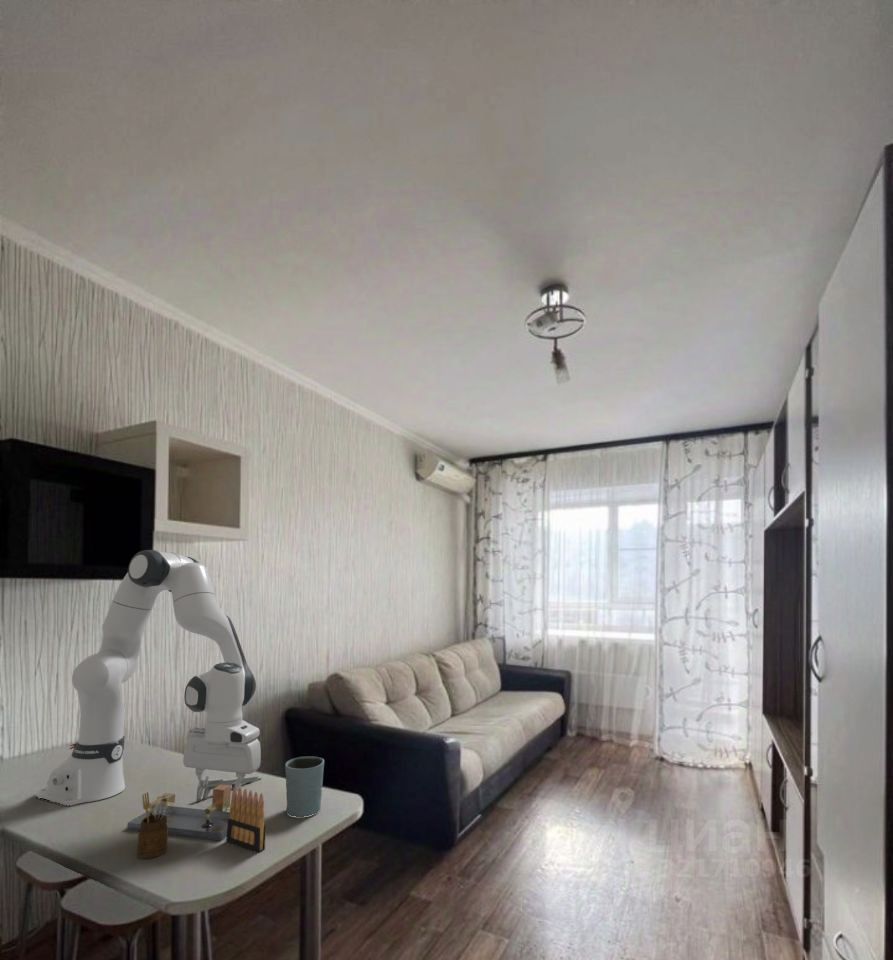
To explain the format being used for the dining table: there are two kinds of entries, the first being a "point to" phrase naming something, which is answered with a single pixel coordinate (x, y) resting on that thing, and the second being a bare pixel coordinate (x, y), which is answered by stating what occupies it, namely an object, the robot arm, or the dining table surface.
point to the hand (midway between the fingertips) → (219, 788)
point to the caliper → (217, 782)
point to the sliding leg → (219, 800)
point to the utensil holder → (152, 833)
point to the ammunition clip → (246, 821)
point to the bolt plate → (186, 819)
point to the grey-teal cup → (304, 785)
